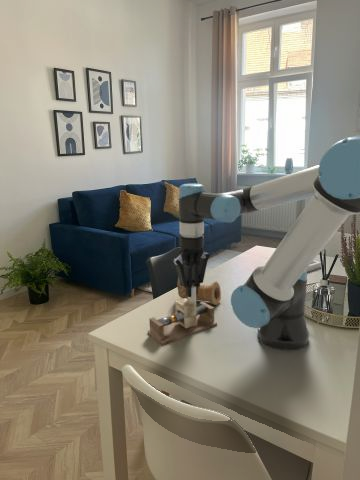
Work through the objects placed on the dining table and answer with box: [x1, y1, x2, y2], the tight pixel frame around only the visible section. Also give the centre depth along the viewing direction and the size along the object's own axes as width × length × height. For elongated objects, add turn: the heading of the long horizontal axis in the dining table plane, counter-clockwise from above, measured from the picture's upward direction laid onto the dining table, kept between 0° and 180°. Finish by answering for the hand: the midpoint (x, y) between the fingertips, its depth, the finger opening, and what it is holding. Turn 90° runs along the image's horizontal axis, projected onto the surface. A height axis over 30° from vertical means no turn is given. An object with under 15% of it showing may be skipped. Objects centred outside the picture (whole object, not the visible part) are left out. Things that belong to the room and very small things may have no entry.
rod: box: [157, 305, 207, 326], centre depth 116 cm, size 18×3×3 cm, turn 124°
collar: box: [174, 298, 197, 328], centre depth 117 cm, size 4×6×7 cm
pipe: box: [176, 276, 222, 306], centre depth 136 cm, size 9×16×10 cm, turn 70°
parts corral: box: [306, 259, 322, 273], centre depth 173 cm, size 16×16×2 cm
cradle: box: [147, 301, 218, 346], centre depth 117 cm, size 21×9×6 cm, turn 124°
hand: (191, 304), depth 118 cm, fingers closed
